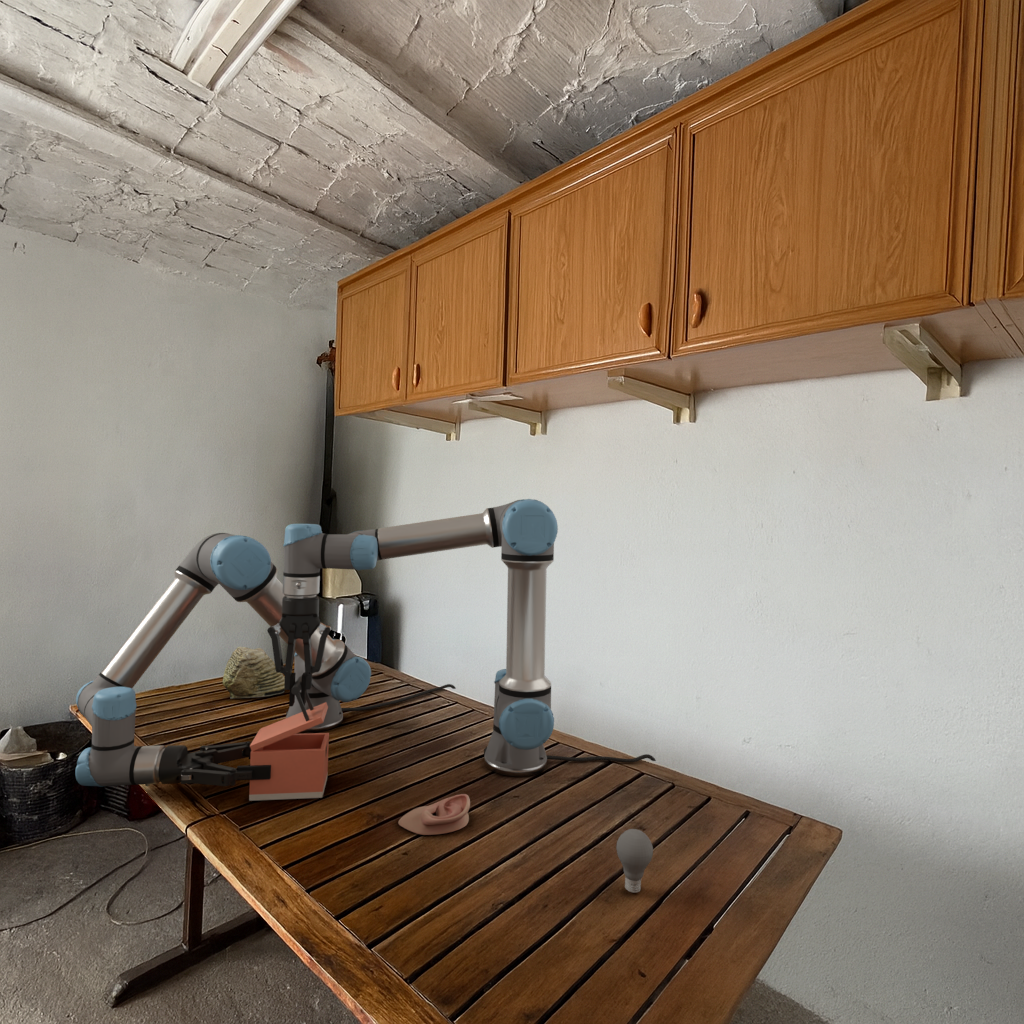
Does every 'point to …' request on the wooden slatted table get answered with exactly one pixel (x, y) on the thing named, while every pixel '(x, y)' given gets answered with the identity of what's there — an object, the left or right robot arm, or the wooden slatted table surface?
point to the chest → (292, 768)
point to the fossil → (252, 674)
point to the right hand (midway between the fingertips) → (297, 704)
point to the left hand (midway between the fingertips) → (275, 761)
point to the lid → (291, 721)
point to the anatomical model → (438, 816)
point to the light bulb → (634, 857)
